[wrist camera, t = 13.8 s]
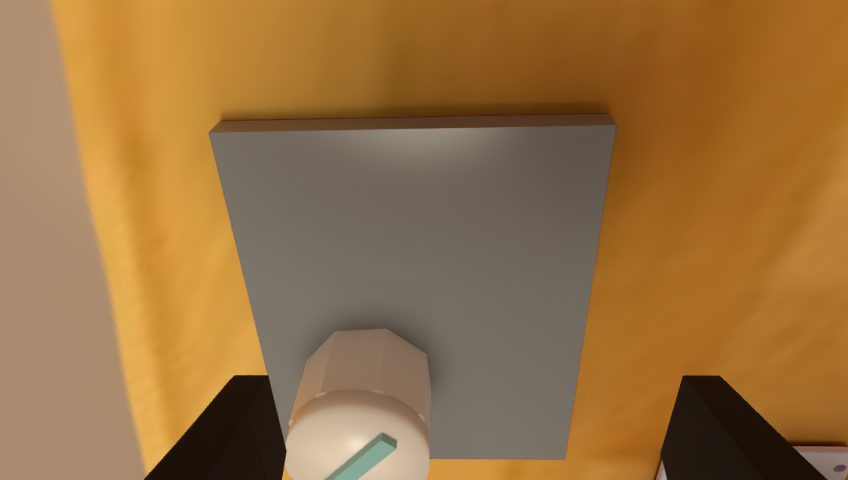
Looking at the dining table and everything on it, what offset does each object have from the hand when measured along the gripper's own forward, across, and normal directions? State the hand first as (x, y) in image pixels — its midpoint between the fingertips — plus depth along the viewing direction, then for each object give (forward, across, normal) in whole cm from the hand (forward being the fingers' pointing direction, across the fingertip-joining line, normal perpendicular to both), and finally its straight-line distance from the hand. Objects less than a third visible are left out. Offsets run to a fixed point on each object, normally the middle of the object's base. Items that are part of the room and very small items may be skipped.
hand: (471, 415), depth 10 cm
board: (+10, +2, +6) cm, 11 cm away
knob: (+9, +4, +8) cm, 12 cm away
